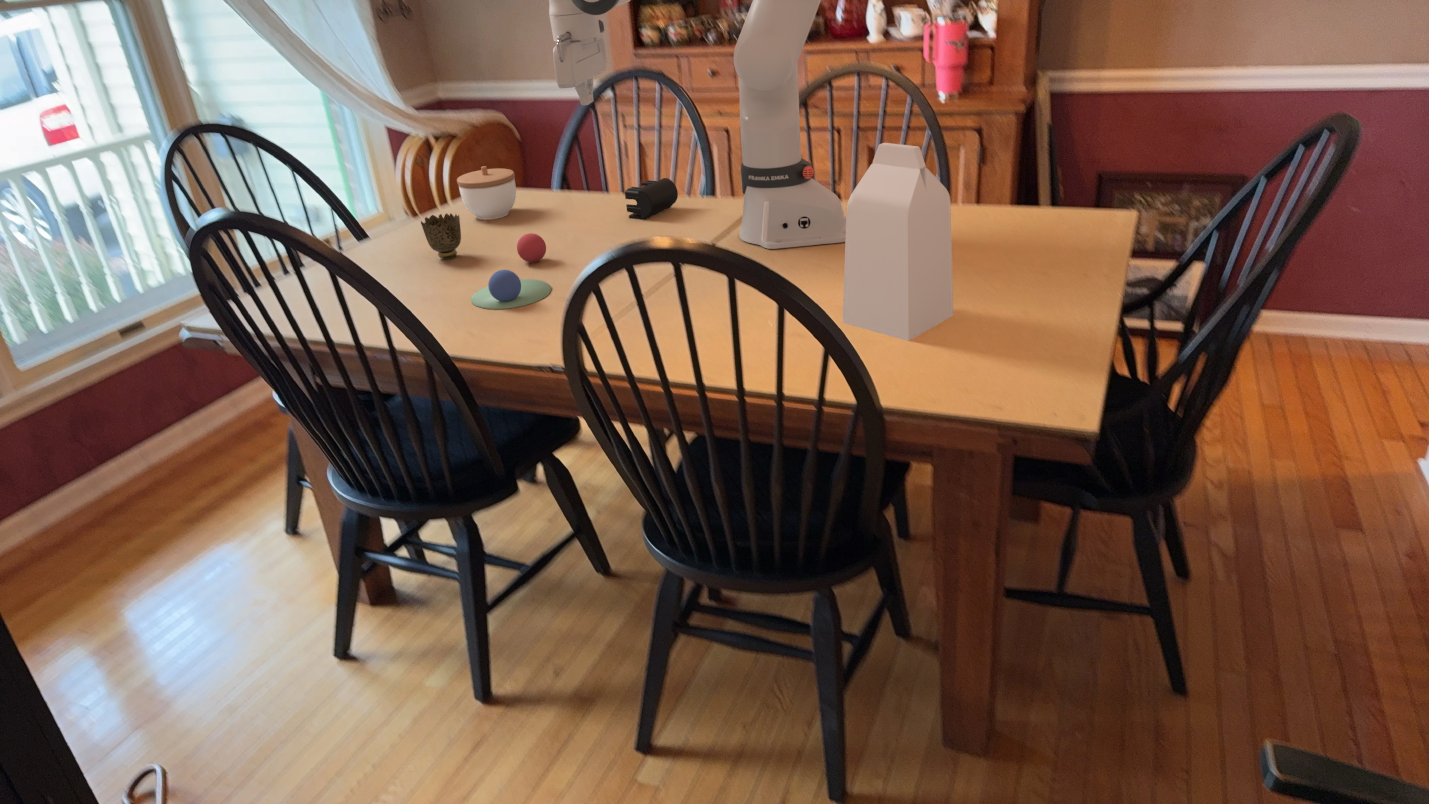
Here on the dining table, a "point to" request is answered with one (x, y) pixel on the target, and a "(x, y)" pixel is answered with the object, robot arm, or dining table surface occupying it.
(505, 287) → the navy ball
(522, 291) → the pale green ellipsoid
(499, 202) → the lidded bowl
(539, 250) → the red rubber ball
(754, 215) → the robot arm
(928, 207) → the milk
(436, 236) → the cup
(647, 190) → the end cap
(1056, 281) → the dining table surface
